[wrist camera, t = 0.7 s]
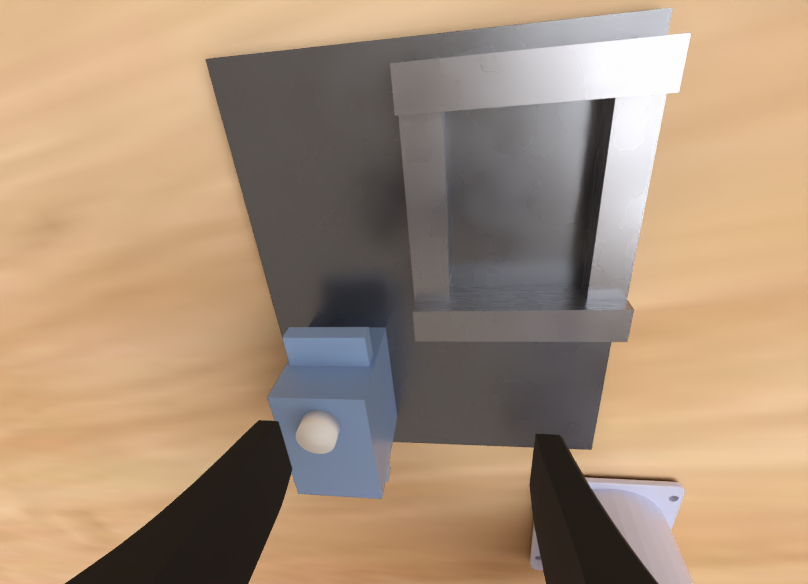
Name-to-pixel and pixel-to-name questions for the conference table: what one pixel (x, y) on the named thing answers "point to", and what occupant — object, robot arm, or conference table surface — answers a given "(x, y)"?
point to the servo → (337, 409)
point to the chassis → (461, 207)
